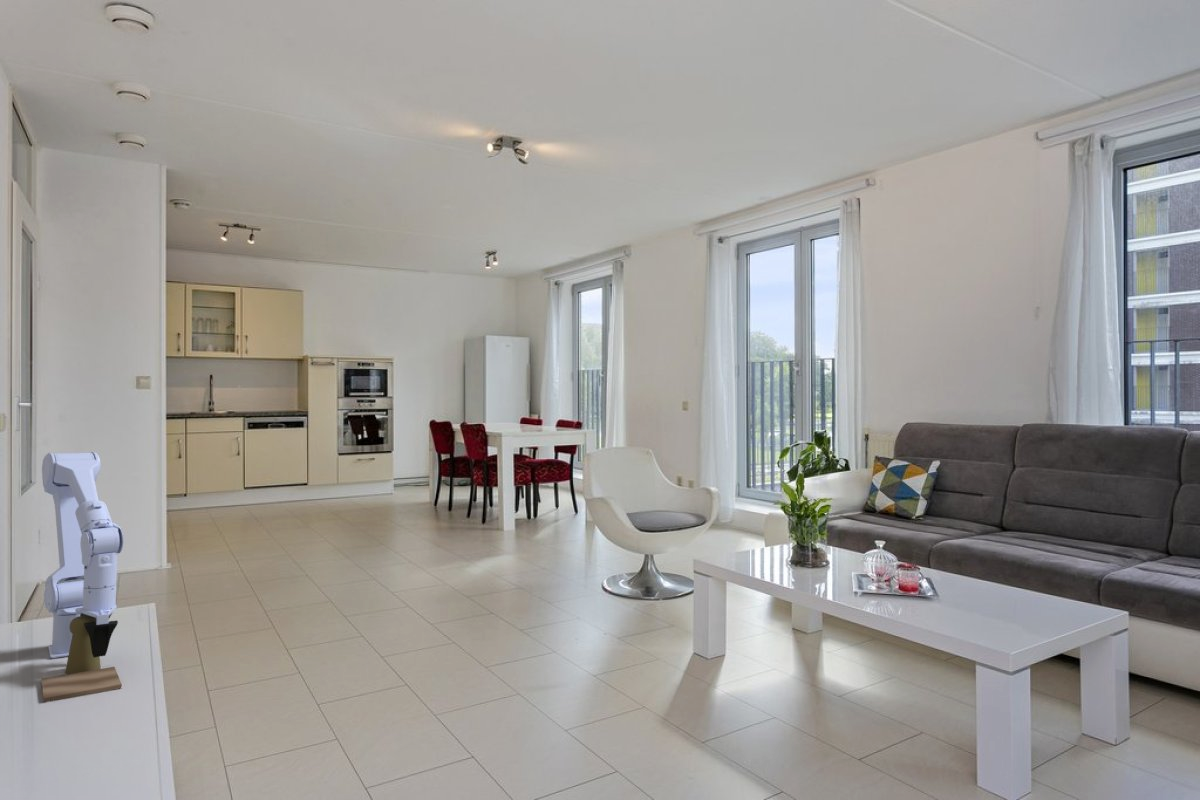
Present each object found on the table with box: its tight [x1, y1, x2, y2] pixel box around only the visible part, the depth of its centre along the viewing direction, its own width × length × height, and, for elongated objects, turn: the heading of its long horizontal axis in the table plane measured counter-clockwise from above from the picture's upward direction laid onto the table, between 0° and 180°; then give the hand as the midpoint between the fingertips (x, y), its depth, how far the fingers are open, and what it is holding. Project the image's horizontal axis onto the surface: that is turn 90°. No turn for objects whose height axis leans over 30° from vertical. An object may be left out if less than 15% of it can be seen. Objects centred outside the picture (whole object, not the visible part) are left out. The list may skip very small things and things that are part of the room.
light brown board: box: [40, 666, 123, 703], centre depth 142 cm, size 12×12×1 cm
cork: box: [64, 615, 102, 675], centre depth 151 cm, size 6×6×11 cm
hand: (97, 651), depth 152 cm, fingers open, 7 cm apart
